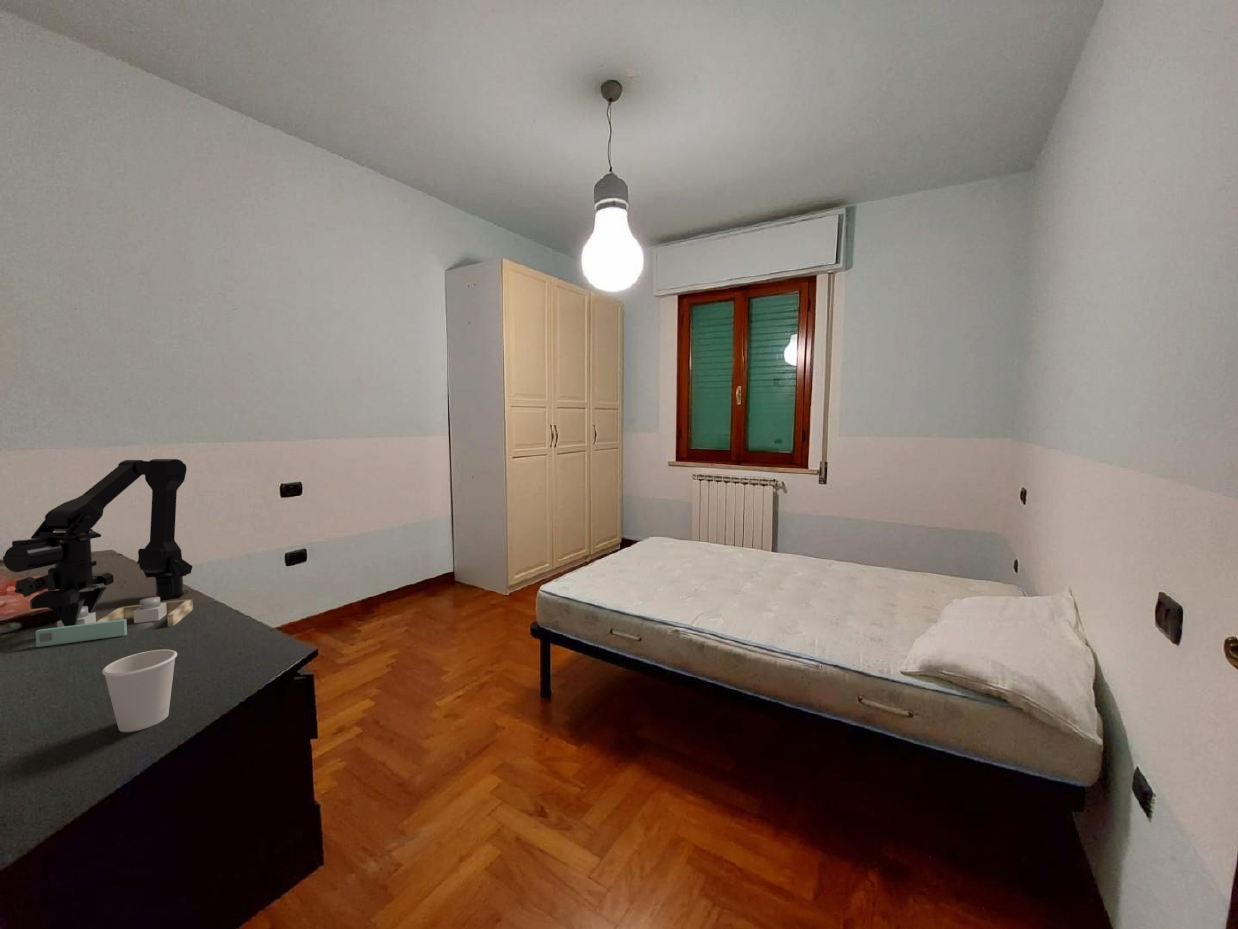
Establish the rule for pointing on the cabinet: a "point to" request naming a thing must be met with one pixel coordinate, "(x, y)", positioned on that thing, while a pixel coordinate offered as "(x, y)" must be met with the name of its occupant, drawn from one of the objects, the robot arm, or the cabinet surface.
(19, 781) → the cabinet surface
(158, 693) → the dixie cup
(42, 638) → the panel
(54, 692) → the cabinet surface
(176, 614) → the housing
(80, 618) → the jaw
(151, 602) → the jaw
